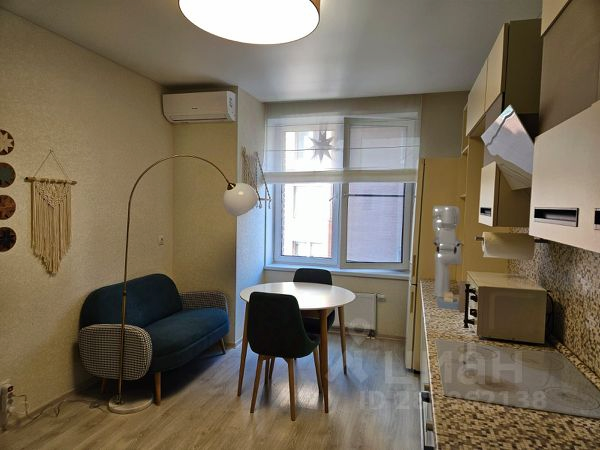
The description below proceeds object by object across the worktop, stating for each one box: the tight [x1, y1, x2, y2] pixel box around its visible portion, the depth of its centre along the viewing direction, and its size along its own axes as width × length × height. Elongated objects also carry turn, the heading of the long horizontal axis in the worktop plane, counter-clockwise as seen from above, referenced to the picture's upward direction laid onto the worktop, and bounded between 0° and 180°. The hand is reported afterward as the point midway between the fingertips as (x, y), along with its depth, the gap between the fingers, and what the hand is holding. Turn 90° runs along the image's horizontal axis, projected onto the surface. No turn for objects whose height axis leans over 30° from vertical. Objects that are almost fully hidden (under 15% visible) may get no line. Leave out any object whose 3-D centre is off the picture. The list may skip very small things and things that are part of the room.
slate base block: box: [436, 297, 459, 311], centre depth 230 cm, size 12×12×4 cm
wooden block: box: [458, 280, 468, 313], centre depth 218 cm, size 9×4×18 cm, turn 75°
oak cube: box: [442, 291, 454, 302], centre depth 229 cm, size 5×5×5 cm
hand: (446, 253), depth 232 cm, fingers open, 9 cm apart
